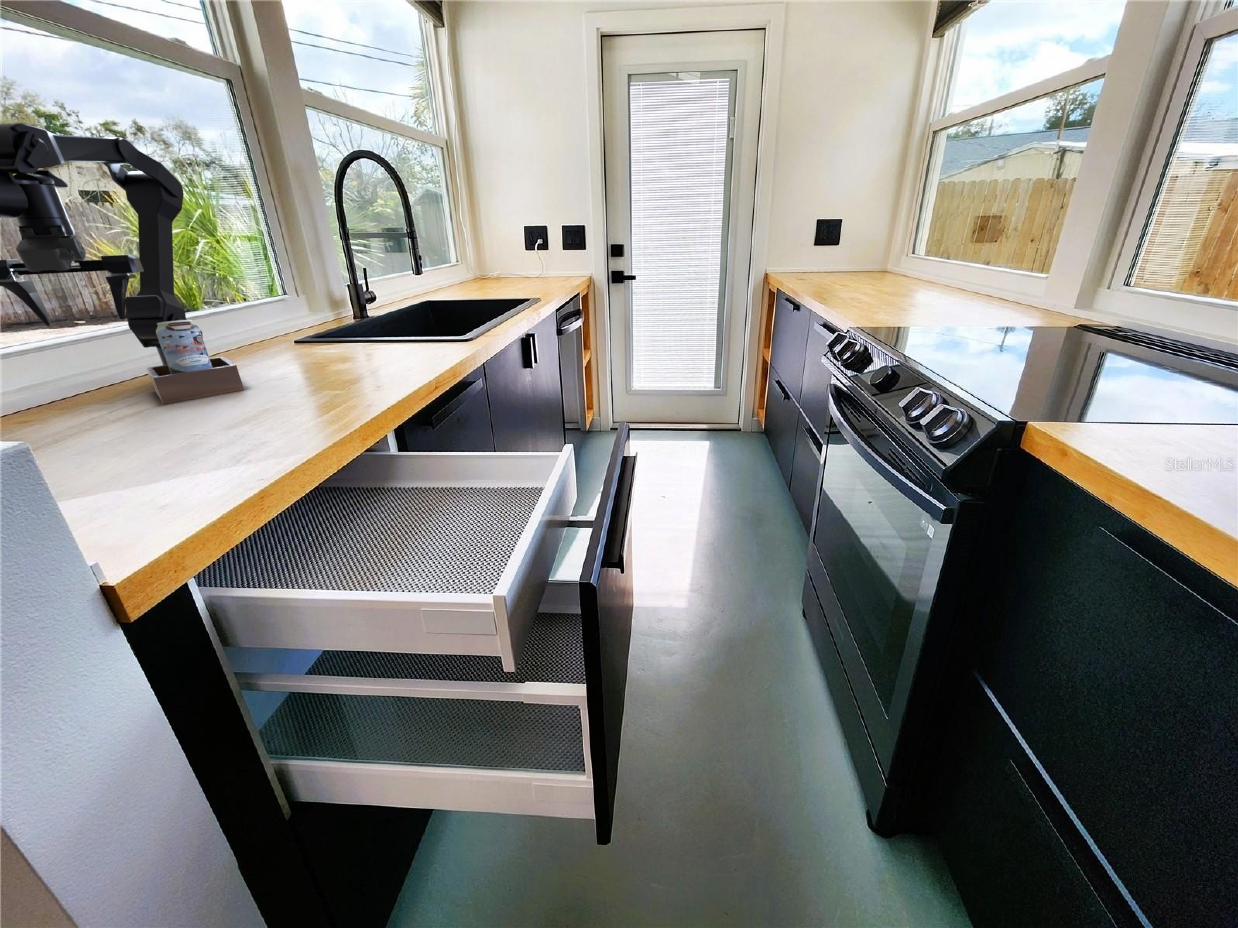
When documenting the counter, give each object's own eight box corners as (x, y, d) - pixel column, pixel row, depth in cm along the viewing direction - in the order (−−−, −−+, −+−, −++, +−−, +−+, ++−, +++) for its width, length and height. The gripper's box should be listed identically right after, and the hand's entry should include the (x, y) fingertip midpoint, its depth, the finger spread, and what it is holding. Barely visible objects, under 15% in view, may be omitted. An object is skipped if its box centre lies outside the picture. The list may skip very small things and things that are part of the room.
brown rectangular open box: (155, 392, 97) (146, 367, 95) (231, 379, 104) (223, 356, 102) (163, 404, 89) (153, 378, 87) (244, 389, 96) (236, 365, 94)
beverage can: (181, 395, 92) (154, 324, 87) (172, 388, 97) (147, 320, 92) (224, 387, 96) (200, 319, 91) (213, 381, 101) (191, 316, 96)
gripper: (-72, 218, 72) (-13, 336, 78) (108, 215, 80) (148, 322, 86) (-34, 221, 80) (16, 326, 87) (125, 218, 89) (160, 314, 95)
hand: (87, 322), depth 88 cm, fingers open, 9 cm apart
